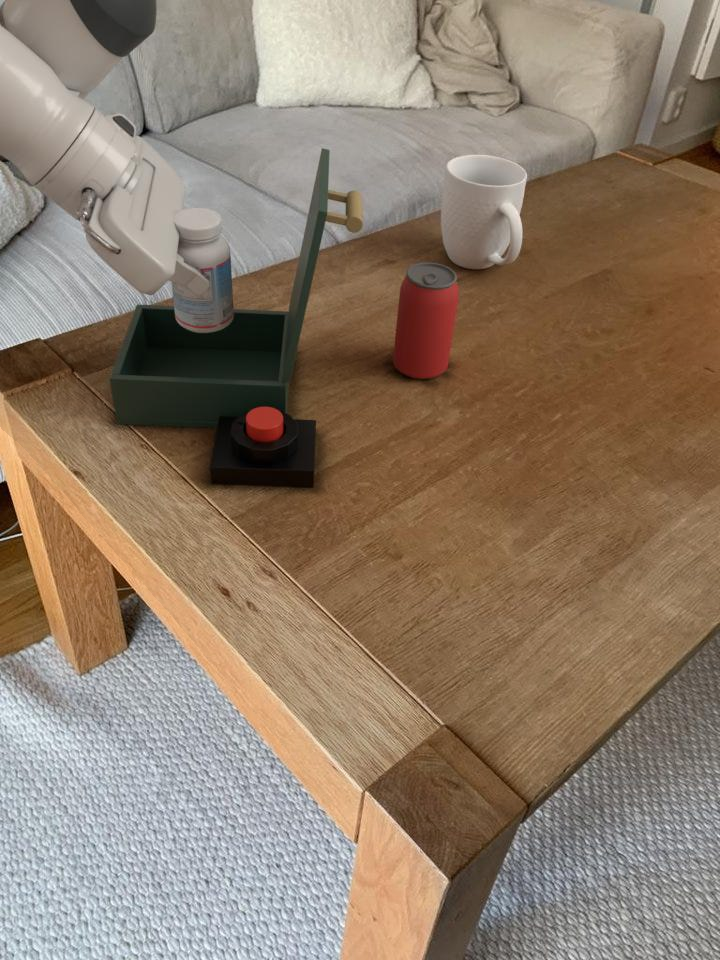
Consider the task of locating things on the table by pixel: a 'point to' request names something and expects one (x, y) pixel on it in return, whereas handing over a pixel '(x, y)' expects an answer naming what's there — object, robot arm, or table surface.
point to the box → (198, 369)
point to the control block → (264, 454)
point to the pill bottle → (213, 257)
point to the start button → (264, 424)
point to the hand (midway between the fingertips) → (206, 268)
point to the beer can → (425, 320)
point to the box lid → (316, 251)
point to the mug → (482, 210)
